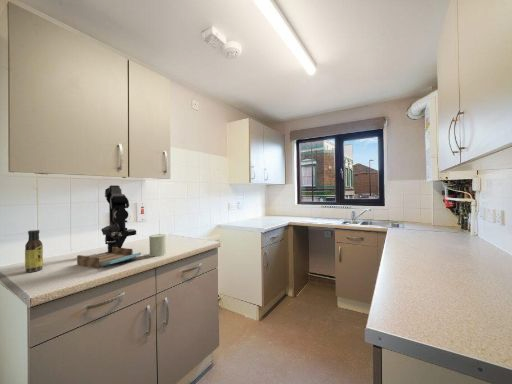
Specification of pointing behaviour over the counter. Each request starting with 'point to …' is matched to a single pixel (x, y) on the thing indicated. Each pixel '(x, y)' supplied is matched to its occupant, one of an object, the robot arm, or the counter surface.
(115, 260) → the teal flat rectangular block
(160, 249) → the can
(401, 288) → the counter surface
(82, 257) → the flatbed
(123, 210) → the robot arm
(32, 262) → the sauce bottle
